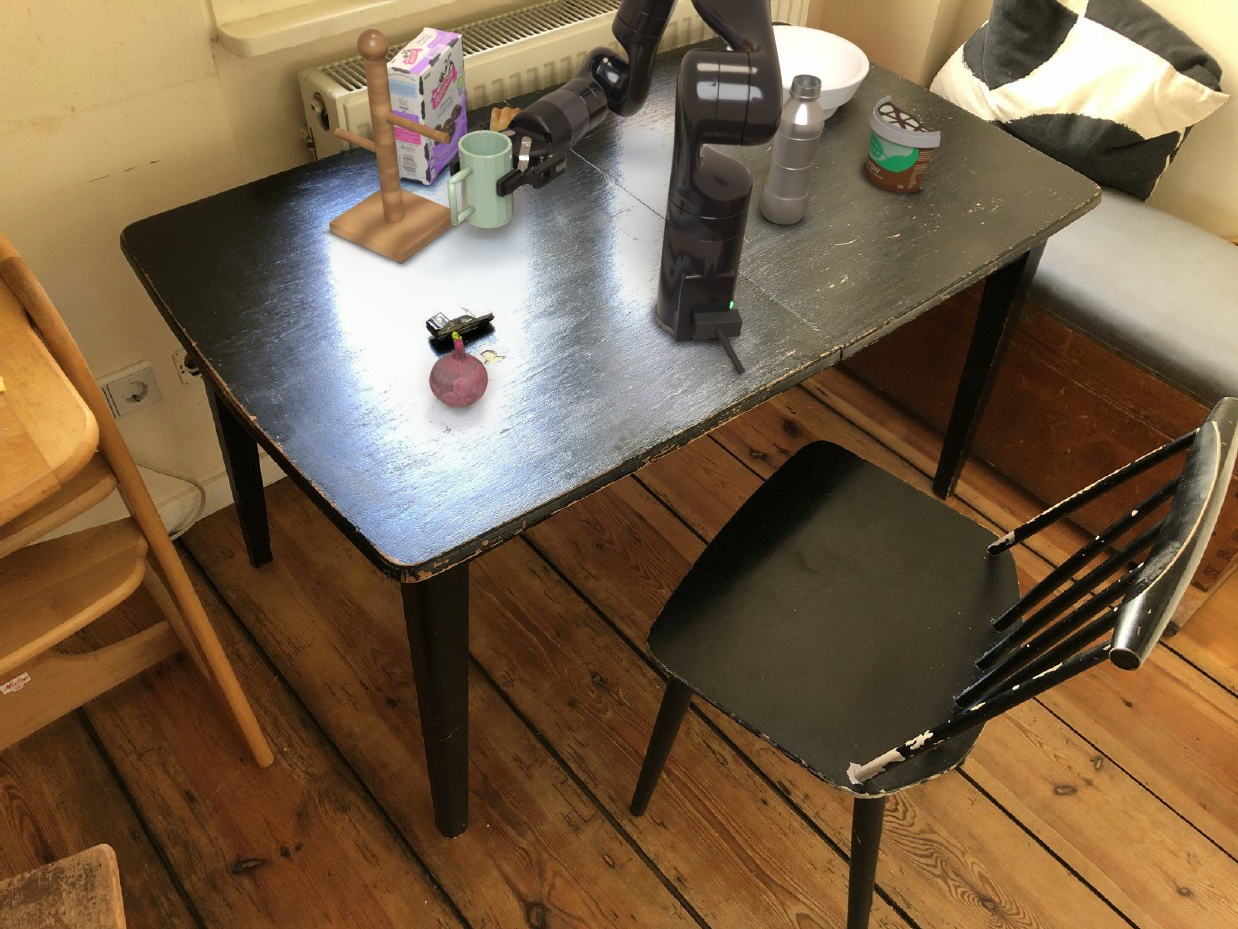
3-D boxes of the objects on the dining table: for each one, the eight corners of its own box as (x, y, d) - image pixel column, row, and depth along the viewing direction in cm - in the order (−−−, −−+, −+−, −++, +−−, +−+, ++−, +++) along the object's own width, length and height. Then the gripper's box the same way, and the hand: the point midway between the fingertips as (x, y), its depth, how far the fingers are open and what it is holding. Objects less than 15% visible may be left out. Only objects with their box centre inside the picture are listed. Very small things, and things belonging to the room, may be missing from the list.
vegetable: (498, 396, 113) (495, 326, 105) (471, 431, 109) (466, 361, 101) (451, 379, 114) (445, 309, 107) (422, 413, 110) (414, 343, 103)
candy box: (430, 187, 141) (420, 74, 129) (392, 178, 142) (378, 65, 130) (470, 141, 151) (464, 32, 139) (434, 133, 152) (425, 24, 140)
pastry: (552, 126, 155) (552, 102, 152) (550, 148, 150) (550, 125, 148) (491, 122, 155) (490, 99, 152) (487, 145, 150) (486, 121, 147)
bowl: (785, 62, 175) (794, 13, 169) (886, 114, 164) (899, 64, 157) (691, 96, 164) (697, 45, 158) (791, 155, 153) (802, 103, 147)
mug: (483, 195, 133) (479, 125, 126) (523, 211, 131) (522, 140, 124) (432, 232, 127) (425, 160, 120) (474, 249, 125) (469, 177, 118)
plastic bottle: (802, 234, 138) (833, 95, 124) (754, 226, 139) (778, 88, 125) (806, 209, 143) (836, 72, 128) (759, 201, 143) (783, 65, 129)
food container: (840, 163, 152) (855, 100, 145) (872, 155, 154) (889, 93, 147) (890, 204, 145) (908, 140, 138) (923, 195, 147) (943, 132, 140)
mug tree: (483, 230, 135) (473, 35, 116) (426, 274, 127) (405, 74, 108) (378, 187, 141) (353, -5, 121) (318, 227, 133) (281, 29, 114)
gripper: (505, 85, 134) (426, 135, 124) (596, 116, 130) (522, 171, 119) (507, 136, 140) (431, 189, 130) (594, 169, 135) (523, 225, 125)
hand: (475, 180), depth 125 cm, fingers closed on mug, 6 cm apart
